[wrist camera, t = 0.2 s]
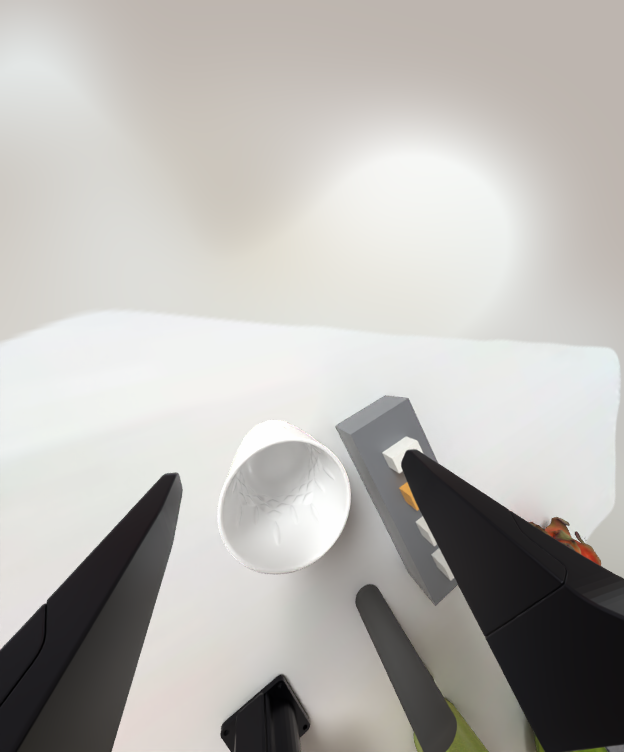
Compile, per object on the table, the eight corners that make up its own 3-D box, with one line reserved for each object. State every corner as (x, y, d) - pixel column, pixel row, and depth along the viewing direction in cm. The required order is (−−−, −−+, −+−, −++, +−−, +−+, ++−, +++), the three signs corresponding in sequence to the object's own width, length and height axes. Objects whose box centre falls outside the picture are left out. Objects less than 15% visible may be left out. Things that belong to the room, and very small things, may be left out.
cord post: (383, 599, 26) (462, 731, 16) (362, 618, 25) (432, 768, 15) (372, 578, 25) (446, 700, 16) (351, 597, 25) (414, 736, 15)
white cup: (297, 402, 24) (328, 418, 14) (320, 471, 24) (366, 532, 15) (220, 431, 22) (196, 472, 12) (248, 506, 22) (245, 602, 13)
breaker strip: (451, 536, 28) (498, 572, 23) (408, 573, 27) (448, 622, 21) (385, 395, 26) (419, 399, 21) (335, 426, 25) (358, 438, 19)
